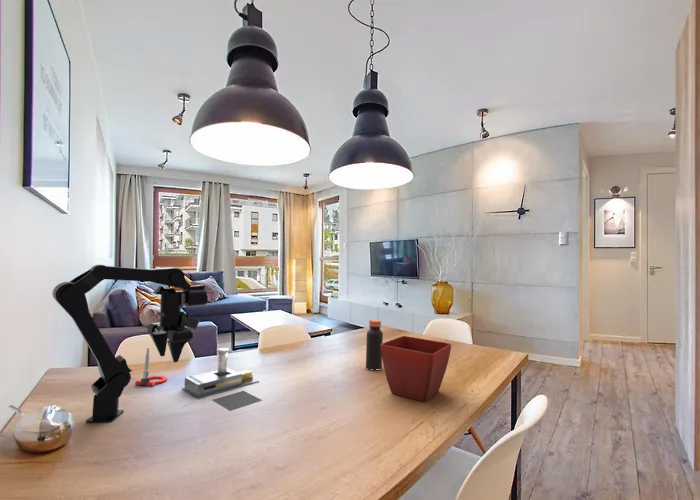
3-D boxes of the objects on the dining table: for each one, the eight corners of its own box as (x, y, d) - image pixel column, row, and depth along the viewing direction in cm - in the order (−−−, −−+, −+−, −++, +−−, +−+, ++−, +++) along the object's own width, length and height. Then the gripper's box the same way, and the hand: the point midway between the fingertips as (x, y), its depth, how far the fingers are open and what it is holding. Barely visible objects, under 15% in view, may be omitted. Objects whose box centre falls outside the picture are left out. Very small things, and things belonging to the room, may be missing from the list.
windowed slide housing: (198, 400, 108) (199, 386, 108) (182, 389, 116) (182, 376, 116) (258, 383, 124) (259, 370, 125) (240, 375, 132) (241, 363, 133)
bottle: (362, 367, 146) (363, 320, 147) (373, 364, 151) (374, 318, 151) (373, 371, 141) (375, 322, 142) (385, 368, 146) (386, 321, 146)
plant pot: (451, 391, 123) (452, 343, 123) (431, 409, 107) (432, 354, 107) (402, 379, 133) (403, 335, 134) (377, 394, 118) (379, 344, 118)
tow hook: (151, 377, 128) (132, 385, 119) (154, 342, 129) (135, 347, 120) (172, 380, 127) (154, 387, 117) (175, 344, 128) (157, 349, 118)
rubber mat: (230, 412, 100) (230, 410, 100) (211, 401, 108) (211, 399, 108) (262, 401, 109) (262, 400, 109) (243, 391, 116) (243, 390, 116)
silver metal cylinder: (229, 384, 120) (230, 349, 120) (216, 386, 117) (218, 351, 118) (226, 381, 123) (227, 347, 123) (214, 383, 121) (215, 348, 121)
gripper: (211, 308, 107) (209, 359, 107) (182, 303, 119) (181, 348, 119) (174, 312, 99) (172, 367, 98) (147, 306, 110) (145, 355, 110)
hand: (169, 359), depth 106 cm, fingers open, 9 cm apart
